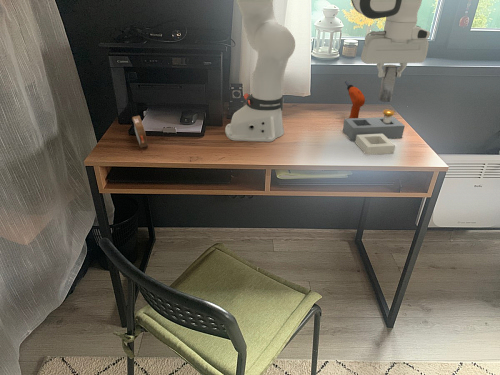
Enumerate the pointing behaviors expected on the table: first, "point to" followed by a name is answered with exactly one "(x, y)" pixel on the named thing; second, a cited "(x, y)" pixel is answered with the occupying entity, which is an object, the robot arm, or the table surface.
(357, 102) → the toy drill
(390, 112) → the gold topped white cylinder
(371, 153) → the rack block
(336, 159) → the table surface
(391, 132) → the socket block
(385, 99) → the grey metal peg
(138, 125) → the tin
